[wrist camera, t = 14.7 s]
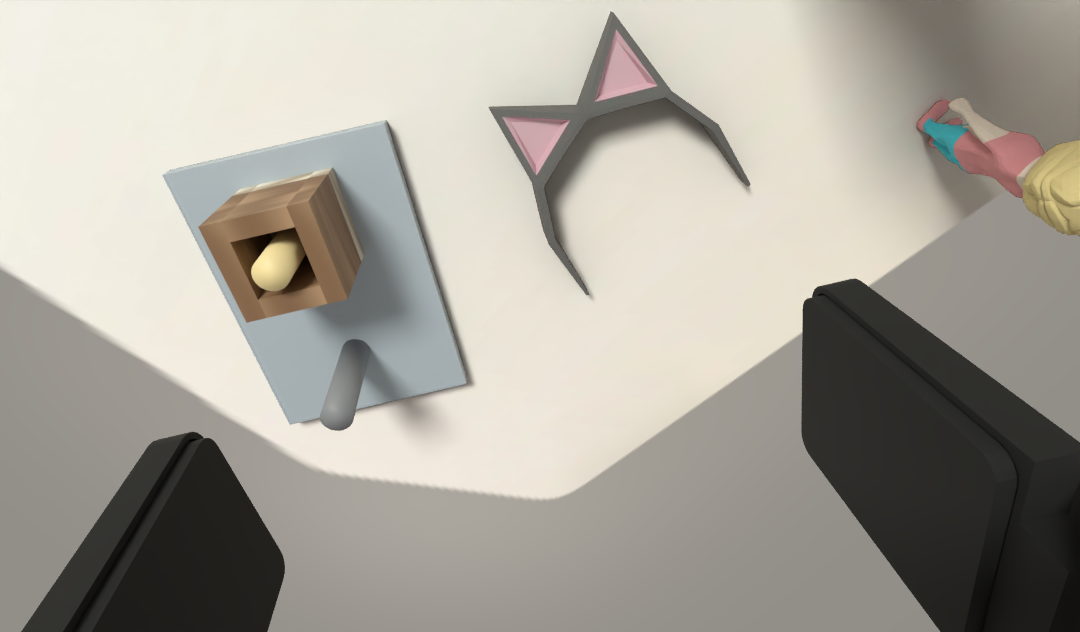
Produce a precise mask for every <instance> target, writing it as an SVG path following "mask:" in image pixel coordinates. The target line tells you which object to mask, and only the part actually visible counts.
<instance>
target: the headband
mask: <svg viewBox="0 0 1080 632" xmlns="http://www.w3.org/2000/svg"><path fill="white" fill-rule="evenodd" d="M662 98H667V99H668V100H670V101H671V102H673V103H674V104H675V105H677V106H678V107H680V108H681V109H683V110H684V111H685V112H687V113H688V114H690V115H691V116H692V117H694V118H695V119H697V120H698V121H699V122H700V123H701V124H702V126H703V127H704V129H705V130H706V131H707V133H708V134H709V136H710V137H711V139H712V140H713V141H714V143H715V144H716V146H717V147H718V148H719V150H720V151H721V153H722V154H723V155H724V157H725V158H726V160H727V161H728V163H729V164H730V165H731V167H732V168H733V170H734V171H735V172H736V174H737V175H738V177H739V178H740V179H741V181H742V182H744V183H745V184H746V185H747V186H750V182H749V180H748V179H747V177H746V175H745V173H744V171H743V169H742V167H741V166H740V164H739V162H738V160H737V158H736V156H735V154H734V153H733V151H732V149H731V147H730V145H729V143H728V141H727V140H726V138H725V136H724V134H723V132H722V130H721V128H720V127H719V125H718V124H717V123H715V122H714V121H713V120H711V119H710V118H708V117H707V116H706V115H704V114H703V113H701V112H700V111H699V110H697V109H696V108H694V107H693V106H692V105H690V104H689V103H687V102H686V101H685V100H683V99H682V98H680V97H679V96H678V95H676V94H675V93H673V92H672V91H671V90H670V88H669V87H668V86H667V84H666V83H665V82H664V80H663V79H662V78H661V76H660V75H659V74H658V72H657V71H656V70H655V68H654V67H653V65H652V64H651V63H650V61H649V60H648V59H647V57H646V56H645V55H644V53H643V52H642V51H641V49H640V48H639V47H638V45H637V44H636V43H635V41H634V40H633V38H632V37H631V36H630V34H629V33H628V32H627V30H626V29H625V28H624V26H623V25H622V24H621V22H620V21H619V20H618V18H617V17H616V16H615V14H614V13H613V12H610V15H609V18H608V20H607V23H606V26H605V28H604V31H603V34H602V37H601V39H600V42H599V45H598V48H597V50H596V53H595V56H594V58H593V61H592V64H591V67H590V69H589V72H588V75H587V78H586V80H585V83H584V86H583V89H582V91H581V94H580V97H579V99H578V102H577V105H551V106H501V107H489V109H490V111H491V113H492V114H493V116H494V118H495V119H496V121H497V123H498V125H499V126H500V128H501V130H502V131H503V133H504V135H505V137H506V138H507V140H508V142H509V143H510V145H511V147H512V149H513V150H514V152H515V154H516V155H517V157H518V159H519V161H520V162H521V164H522V166H523V167H524V169H525V171H526V173H527V174H528V176H529V178H530V180H531V181H532V185H533V189H534V194H535V198H536V202H537V206H538V211H539V215H540V219H541V223H542V227H543V231H544V233H545V236H546V238H547V241H548V243H549V245H550V246H551V248H552V249H553V250H554V252H555V253H556V255H557V256H558V257H559V259H560V260H561V261H562V263H563V264H564V265H565V267H566V268H567V269H568V271H569V272H570V273H571V275H572V276H573V277H574V279H575V280H576V282H577V283H578V284H579V286H580V287H581V288H582V290H583V291H584V292H585V294H586V295H589V293H588V291H587V289H586V287H585V285H584V283H583V282H582V280H581V278H580V277H579V275H578V273H577V272H576V270H575V268H574V267H573V265H572V263H571V262H570V260H569V259H568V257H567V255H566V254H565V252H564V250H563V249H562V247H561V245H560V244H559V242H558V240H557V239H556V237H555V235H554V231H553V227H552V222H551V218H550V213H549V208H548V204H547V199H546V195H545V190H544V185H545V184H546V182H547V181H548V179H549V177H550V176H551V174H552V173H553V171H554V169H555V168H556V166H557V164H558V163H559V161H560V160H561V158H562V156H563V155H564V153H565V152H566V150H567V149H568V147H569V146H570V144H571V143H572V141H573V140H574V138H575V137H576V135H577V134H578V132H579V131H580V129H581V128H582V126H583V125H584V123H585V122H586V120H587V119H589V118H592V117H596V116H599V115H603V114H606V113H610V112H613V111H616V110H620V109H623V108H627V107H630V106H634V105H638V104H642V103H646V102H650V101H654V100H658V99H662Z"/></svg>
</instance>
